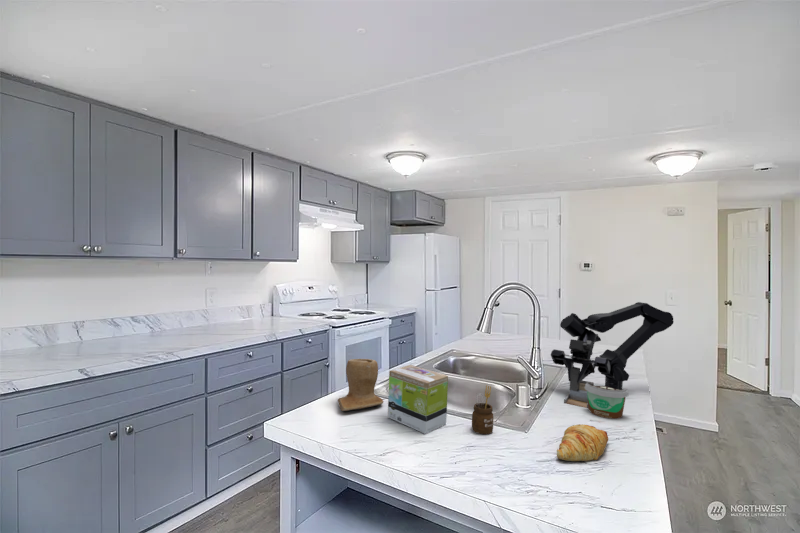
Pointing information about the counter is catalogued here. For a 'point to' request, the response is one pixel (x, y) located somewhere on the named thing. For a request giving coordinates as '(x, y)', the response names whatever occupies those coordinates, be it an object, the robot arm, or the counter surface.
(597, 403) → the food container
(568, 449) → the croissant
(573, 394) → the block
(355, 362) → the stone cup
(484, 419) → the utensil holder
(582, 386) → the nut
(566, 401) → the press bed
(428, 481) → the counter surface
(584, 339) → the robot arm
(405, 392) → the tea box
